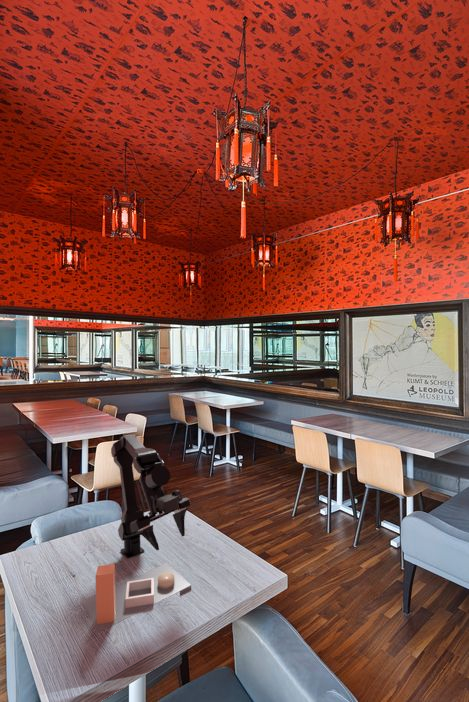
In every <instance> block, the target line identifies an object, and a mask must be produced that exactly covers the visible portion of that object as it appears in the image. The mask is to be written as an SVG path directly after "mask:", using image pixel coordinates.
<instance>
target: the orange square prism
mask: <svg viewBox="0 0 469 702" xmlns="http://www.w3.org/2000/svg"><path fill="white" fill-rule="evenodd" d="M95 573H96V574H95V595H96V608H97V624H102V623H107V622H113V621H115V613H116V593H115V586H116V564H115V563H111V564H101V565H98V566H97V568H96V572H95Z"/></svg>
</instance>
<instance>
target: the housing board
mask: <svg viewBox="0 0 469 702" xmlns="http://www.w3.org/2000/svg"><path fill="white" fill-rule="evenodd" d="M191 589H192V585H191V583H189V582H188V581H187V580H186V579H185V578H184V577H183V576H182V575H181V574H180V573H178V571H176V570H175V568H173V567H171V565H169V564H168V562H166V563H163V564H161V565H159V566H157V567H154V568H152V569H150V570H148V571H144V572H143V573H141V574H139V575H136V576H135V577H132V578H130V579H128V580H126V581H123V582H121V583H118V584H117V585H116V584H115V593H116V613H115V621H113V622H107V623H102V624H97V608H96V594H94V595H91V596H90V597H87V598H85V599H82V600H81V601H80V603H81V604H82V607H83V608H84V610H85V611H86V614H88V616H89V618H90V619H91V622H92V623H93V625H94V626H95V628H96V630H97V632H98V633H100V632H102V631H105V630H106V629H108V628H110V627H113V626H114V625H117V624H118V623H121V622H122V621H124V620H126V619H128V618H130V617H132V616H134V615H136V614H138V613H140V612H142V611H144V610H146V609H148V608H149V607H152V606H154V605H156V604H157V603H159V602H161V601H164V600H165V599H167V598H169V597H171V596H173V595H175V594H177V593H178V592H179V595H180V594H183V593H185V592H187V591H189V590H191Z"/></svg>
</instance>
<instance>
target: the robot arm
mask: <svg viewBox="0 0 469 702" xmlns="http://www.w3.org/2000/svg"><path fill="white" fill-rule="evenodd" d="M110 450H111V451H110V454H111V457H112V458H113V462H114V463H115V464H116V466H117V467H118V468H119V475H120V483H121V491H122V497H123V506H124V509H123V512H122V515H121V518H120V521H121V522H120V525H119V526H118V529H117V533H118V537H119V538H120V540H121V541H122V542H123V548H121V549H120V553H121V554H122V555H124V557H125V558H126V559H131V558H133V557H135V556H138V555H140V554H143V553H145V549H144V548H143V547H141V536H142V537H143V538H144V539H145V540H146V541H148V543H149V544H150V545H151V546H152V547H153V548H154V550H156V551H159V550H160V547H159V543H158V540H157V538H156V534H155V532H154V525H153V524H152V525H151V523H152V522H155V521H157V520H158V519H160V518H163V517H165V516H166V515H167V516H168V515H169V514H171V513H173V512H174V513H173V514H172V517H173V520H174V522H175V524H176V526H177V529H178V533H180V535H181V537H185V534H186V533H185V532H186V531H185V529H186V527H185V520H186V519H185V518H186V512H187V511H188V510H189V507H190V506H192V503H191V501H190V499H189V498H188V497H187V496H186V497H183V496H182V493H181V491H180V490H179V489H176V490H174V491H172V493H171V494H169V493H168V491H167V490H166V489H164V488H163V487H165V485H167V484H168V483H169V481H170V479H171V472H170V470H169V469H168V468H167V467H166V466H165V462H164V461H163V459H162V458H161V456H160V455H159V453H158V452H157V451H156V450H155V449H153V448H148V447H145V446H144V444H142V443H141V441H140V440H139V439H138V438H137V435H136V434H133V433H132V434H126V435H123V436H120V438H119V439H118V440H116V441H115V442H114V443H113V444H112V446H111V449H110ZM133 468H134V469H135V471H136V472H137V473H138V474H139V478H138V481H139V483H140V485H141V489H142V491H143V494H144V497H145V498H144V499H143V502H144V503H147V507H148V509H149V512H148V514H146V515H145V512H144V511H143V510H142V509H141V508H140V507H139V505H138V498H137V491H136V485H135V476H134V470H133Z"/></svg>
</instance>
